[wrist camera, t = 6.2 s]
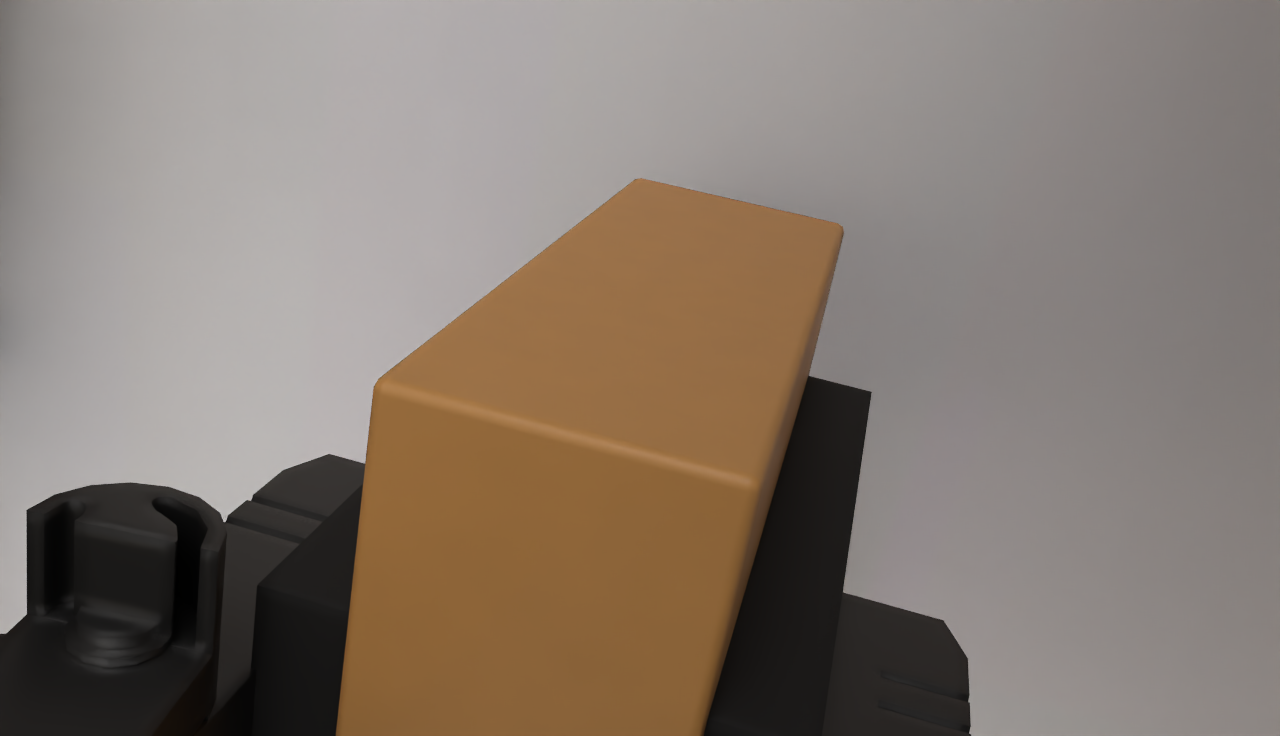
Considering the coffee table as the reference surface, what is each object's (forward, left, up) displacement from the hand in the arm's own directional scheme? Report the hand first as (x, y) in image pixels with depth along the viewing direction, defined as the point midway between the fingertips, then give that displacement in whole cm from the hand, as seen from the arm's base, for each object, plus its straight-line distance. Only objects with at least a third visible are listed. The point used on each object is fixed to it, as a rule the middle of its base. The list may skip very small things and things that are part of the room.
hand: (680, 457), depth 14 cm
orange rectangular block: (0, 0, 0) cm, 0 cm away
